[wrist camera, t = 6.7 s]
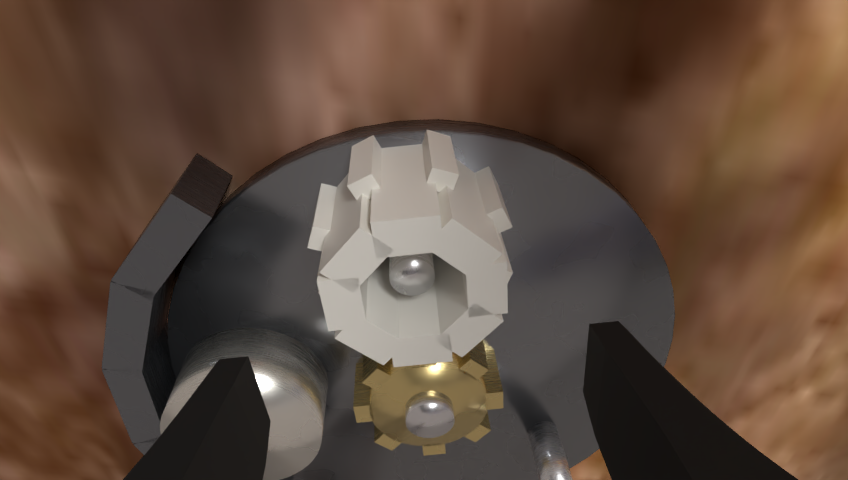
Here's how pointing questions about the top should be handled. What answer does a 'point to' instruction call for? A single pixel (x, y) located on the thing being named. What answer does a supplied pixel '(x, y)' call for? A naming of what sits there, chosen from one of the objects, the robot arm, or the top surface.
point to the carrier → (410, 275)
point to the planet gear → (411, 252)
